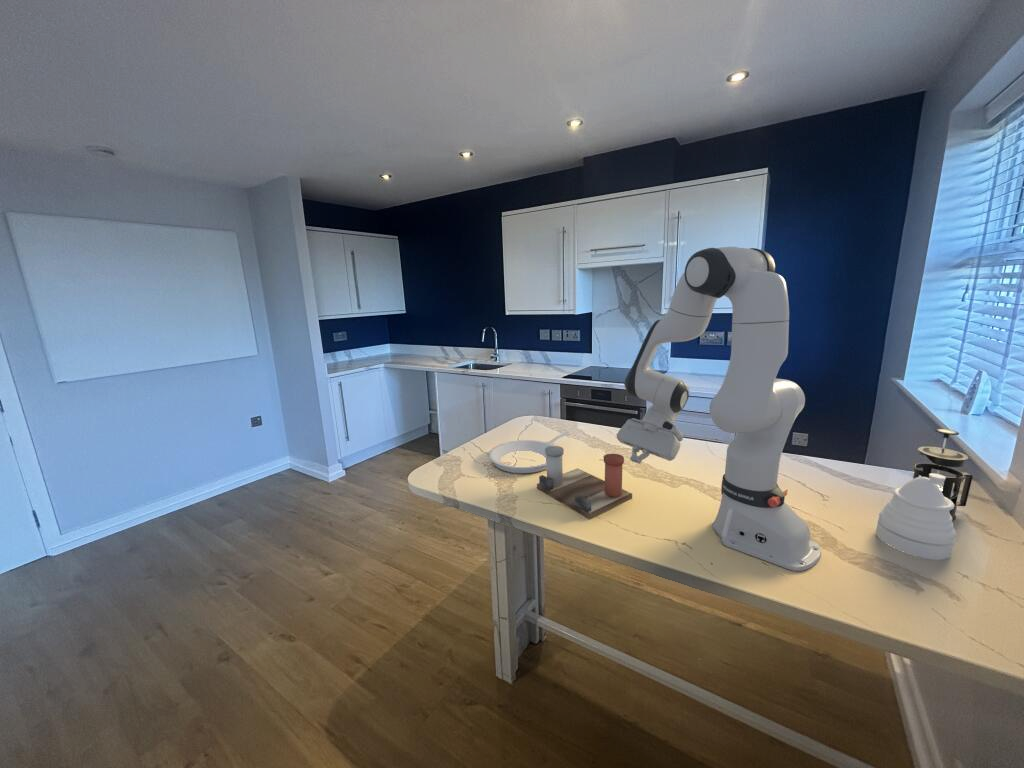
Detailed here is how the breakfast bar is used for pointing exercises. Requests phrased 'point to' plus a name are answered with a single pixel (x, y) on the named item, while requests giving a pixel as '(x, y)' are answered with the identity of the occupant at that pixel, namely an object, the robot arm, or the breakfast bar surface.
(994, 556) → the breakfast bar surface
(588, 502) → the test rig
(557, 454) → the grey plug
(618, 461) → the red plug
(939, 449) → the french press
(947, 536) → the honey pot
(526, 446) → the pan
